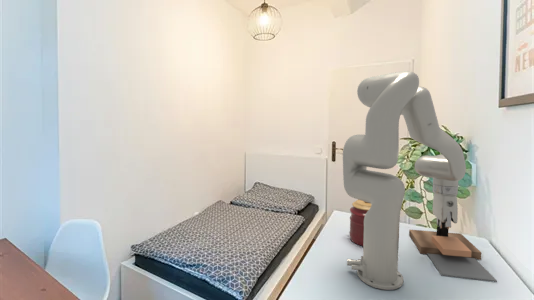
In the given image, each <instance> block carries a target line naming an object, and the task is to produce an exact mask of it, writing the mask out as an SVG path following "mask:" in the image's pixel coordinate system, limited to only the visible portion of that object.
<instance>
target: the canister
mask: <svg viewBox="0 0 534 300" xmlns="http://www.w3.org/2000/svg"><path fill="white" fill-rule="evenodd" d="M351 205H352V207H350V209H349V212H350V217H349V221H350V222H349V239H350V240H351V242H353V243H354V244H356V245H359V246H362V247H363V241H364V217H365V214H366V213H367V211H368V210H369V209H370V208H371V204H370V203H368V202H365V201H362V200H358V199H356V200H354V201H353V202H352V204H351Z"/></svg>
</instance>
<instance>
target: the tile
mask: <svg viewBox="0 0 534 300" xmlns="http://www.w3.org/2000/svg"><path fill="white" fill-rule="evenodd" d="M432 242H433V243H434V244H435V245H436V247H437V248H438V249H439V250H440V252H441V253H442V254H443V255H451V256H462V257H471V253H472V251H471V250H470V249H469V248H468V247H467V246H465V245H464V244H463V243H462V242H461V241H460V240H459V239H458V238H457V237H445V236H432Z"/></svg>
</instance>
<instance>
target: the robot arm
mask: <svg viewBox="0 0 534 300" xmlns="http://www.w3.org/2000/svg"><path fill="white" fill-rule="evenodd" d="M356 93H357V97H358V100H359V101H360V102H361V104H363V105H364V106H366V107H368V108H369V109H368V112H367V114H366V117H365V132H364V134H354V135H352V136H350V137H349V138H348V139H346V142H344V146H343V147H342V148H343V150H342V175H343V176H342V177H343V179H342V181H343V187H344V191H345V192H346V194H347V195H348V196H349V197H351V198H353V199H356V200H362V201H365V202H368V203H370V204H371V208H370V209H369V210H368V211H367V213H366V214H365V217H364V241H363V246H362V248H363V249H362V250H363V251H362V255H361V256H360V258H358V259H352V258H347V259H346V266H350V267H351V270H354V271H355V270H357V271H356V274H357V276H358V278H359V279H360V281H362V282H363V283H365V284H366V285H368V286H370V287H372V288H375V289H379V290H387V291H392V290H397V289H399V288H401V287H402V286H403V285H404V277H403V274H402V273H401V272H400V271H399V245H400V243H399V242H400V241H399V240H400V221H401V217H400V216H401V210H402V206H403V201H404V198H405V194H406V187H405V183H404V182H403V181H402V180H401V178H399V177H398V176H396V175H393V174H390V173H386V172H380V171H375V170H368V169H367V168H373V169H380V170H390V169H393V168H394V167H395V166H396V165H397V164H398V160H399V150H400V147H399V138H400V137H399V136H400V135H399V134H400V133H399V129H400V118H401V115H402V116H403V118H404V121H405V124H406V128H407V131H408V134H409V136H410V138H411V139H413V140H414V141H416V142H418V143H419V144H421V145H424V146H426V147H429V148H431V149H433V150H435V151H437V152H439V153H440V154H436V155H422V156H420V157H418V158H417V159H416V161H415V162H414V171H416V173H417V174H418V175H420V176H421V177H424V178H425V177H426V178H431V179H432V193H433V198H432V199H433V200H432V214H433V216H434V217H435V218H436V232H437V234H436V236H445V237H448V233H449V229H450V228H452V223H454V224H457V223H458V215H459V214H458V212H459V211H458V209H459V208H458V207H459V206H458V197H457V196H458V193H459V191H458V190H459V181H461V180H463V178H465V175H466V171H467V165H466V159H465V155H464V152H463V149H462V147H461V146H460V144H459V142H457V141H456V140H455V139H454V138H453V137H452V136H451V135H449V134H448V133H447V132H446V131H444V130H443V129H441V127H440V125H439V121H438V116H437V114H436V113H437V112H436V110H435V106H434V103H433V98H432V95H431V93H430V90H429V89H428V88H426V87H425V86H424V87H423V86H420V79H419V75H418V74H417V73H415V72H413V71H409V70H407V71H396V72H391V73H386V74H381V75H376V76H370V77H367V78H364V79H363V80H361V82H359V84H358V86H357V91H356Z"/></svg>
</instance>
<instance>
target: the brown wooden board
mask: <svg viewBox="0 0 534 300" xmlns="http://www.w3.org/2000/svg"><path fill="white" fill-rule="evenodd" d="M436 234H437V231H433V230H421V229H409V233H408V236H409V237H410V240H411V241H412V242H413V244H414V246H415V247H416V249H417V251H418V252H419V253H420V254H421V255H427V253H429V254H439V255H443V254H442V253H441V252H440V250H439V249H438V248H437V247H436V245H435V244H434V243H433V242H432V236H436ZM448 237H457V238H458V239H459V240H460V241H461V242H462V243H463V244H464V245H465V246H467V247H468V248H469V249H470V250H471V251H472V253H471V257H469V258H475V259H476V260H477V261H478V260H480V261H481V260H482V251H481V250H479V249H478V248H477V247H476V246H475V245H474V244H473V243H472V242H471V241H470V240H468V239H467V238H466V237H465V236H464V235H463V234H462V233H460V232H459V233H457V232H448ZM449 256H451V255H449ZM459 257H462V256H459Z"/></svg>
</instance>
